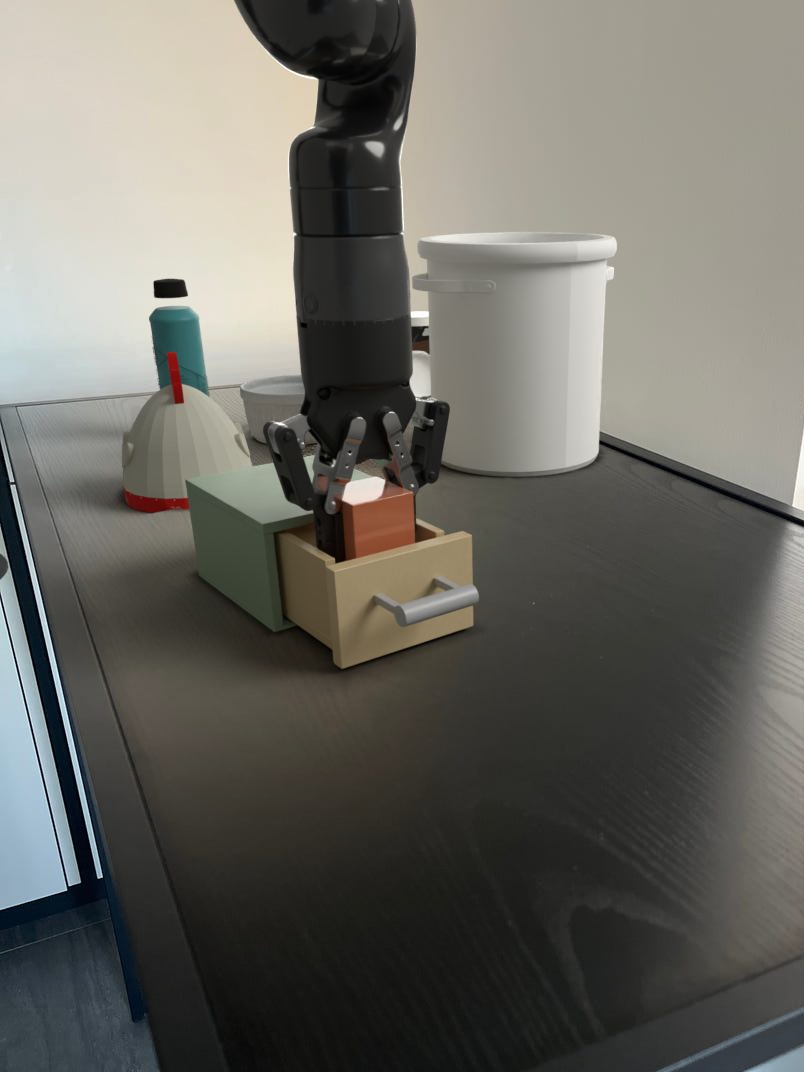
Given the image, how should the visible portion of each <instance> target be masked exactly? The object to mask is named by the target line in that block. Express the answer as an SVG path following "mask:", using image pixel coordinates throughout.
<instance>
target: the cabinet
mask: <svg viewBox="0 0 804 1072" xmlns="http://www.w3.org/2000/svg"><path fill="white" fill-rule="evenodd" d="M314 456H315V454H311V455H307V456H303V458H304V461H305V464H306V467H307V470H308V473H309V477H310V480H311V483H312V481H313V477H314V471H313V468H312V465H313V461H314ZM333 463H334V465H335V463H336V460H335V459H333ZM252 466H253V467H248V468H243V469H237V470H232V471H227V472H221V473H216V474H211V475H205V476H200V477H195V478H189V479H185V483H186V488H187V496H188V503H189V509H188V510H189V516H190V523H191V529H192V536H193V542H194V549H195V556H196V562H197V564H196V565H197V570H198V576H199V577H200V578H201V579H203V580H204V581H206V582H207V583H208V584H209V585H211V586H212V587H213V588H215V589H217V590H218V591H219V592H220V593H222V594H223V595H224V596H226V597H227V598H228V599H230V600H231V601H232V602H234V603H235V604H236V605H237V606H239V607H240V608H242V609H243V610H244V611H245V612H247V613H248V614H249V615H251V616H252V617H254V618H255V619H256V620H257V621H259V622H260V623H262V624H263V625H265V626H266V627H267V628H269V630H271V631H272V632H274V633H276V632H280V631H283V630H287V629H291V628H293V627H297V626H298V625H297V624H296V623H294V622H293V621H291V620H290V619H289V618H287V617H286V616H284V615H283V614H282V608H281V599H280V590H279V581H278V572H277V563H276V553H275V544H274V535H273V532H277V531H281V530H286V529H290V528H294V527H299V526H303V525H307V524H312V523H315V522H314V513H313V510H311V511H306V510H304V509H302V508H300V507H299V506H297V505H295V504H292V503H290V502H288V501H287V500H286V498H285V495H284V493H283V490H282V487H281V484H280V481H279V478H278V475H277V472H276V469H275V466H274V463H273V462H270V463H264V464H260V465H252ZM371 477H374V476H373V475H370V474H368V473H366V472H363V471H361V470H358V469H356V468H354V470H353V475H352V478H351V481H350V482H352V481H356V480H361V479H366V478H371Z"/></svg>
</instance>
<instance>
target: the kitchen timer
mask: <svg viewBox="0 0 804 1072" xmlns="http://www.w3.org/2000/svg"><path fill="white" fill-rule="evenodd" d="M167 359H168V367H169V374H170V380H171V385H169V386H166V387H164V388H162V389H161V390H160V389H158V391H156V392H155V393H154V394H153V395H152V396H150V397H149V399H147V400H146V402H145V403H144V404H143V406H142V407H141V409H140V410H139V412H138V414H137V416H136V417H135V420H134V421H133V423H132V426H131V429H130V431H127V430H125V431H123V432H122V433H123V434H122V443H121V467H122V468H121V469H122V487H123V492H124V498H125V502H126V504H127V505H128V507H130V508H132V509H134V510H137V511H139V512H140V511H141V512H145V513H148V514H149V513H151V514H156V513H161V512H165V511H170V510H190V509H189V503H188V496H187V488H186V483H185V479H189V478H195V477H200V476H205V475H211V474H216V473H221V472H227V471H232V470H237V469H243V468H248V467H253V466H254V465H253V462H252V460H251V453H250V449H249V447H248V442H247V440H246V436H245V434H244V431H243V428H242V426H241V424H240V423H239V422H238V421H235V422H233V421H232V420H231V418H230V417H229V415H228V414H227V413H226V412H225V411H224V410H223V408H222V407H221V406H220V405H219V404H218V403H217V402H216V401H215V400H214V399H212V398H211V396H210V397H208V396H207V395H206V394H204V393H203V392H201V391H199V390H197V389H195V388H193V387H191V386H188V385H184V384H182V383H181V378H180V371H179V367H178V360H177V355H176V352H169V353H167Z"/></svg>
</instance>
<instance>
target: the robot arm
mask: <svg viewBox="0 0 804 1072" xmlns="http://www.w3.org/2000/svg"><path fill="white" fill-rule="evenodd" d="M233 3H234V4H235V6H236V8H237V10H238V12H239V14H240V17H241V18H242V20H243V22H244V23H245V25H246V27H247V28H248V30H249V31H250V33H251V34H252V35H253V37H254V39H255V40H256V41H257V42H258V43H259V45H260V46H261V47H262V48H263V49H264V50H265V51H266V52H267V54H268V55H269V56H271V58H272V59H273V60H275V61H276V63H277V64H279V65H280V66H282V67H283V68H285V69H286V70H287V71H289V72H291V73H293V74H295V75H297V76H300V77H304V78H306V79H312V80H317V90H316V102H315V113H314V120H313V124H312V126H311V127H310V128H308V129H306V130H304V131H302V132H301V133H298V134H297V135H296V136H295V137H294V138H293V139H292V141H291V143H290V145H289V150H288V155H287V156H288V157H287V174H288V185H289V197H290V209H291V221H292V223H291V224H292V233H293V236H292V237H293V252H292V253H293V255H292V283H293V295H294V305H295V306H294V307H295V317H296V329H297V342H298V350H299V352H298V353H299V365H300V375H301V376H302V381H303V385H304V390H305V396H304V401H303V404H302V406H301V409H300V414H299V415H297V416H294V417H292V418H290V419H287V420H285V421H283V422H280V423H277V422H274V421H269V422H267V423H266V424H265V425H264V427H263V434H264V437H265V440H266V443H267V444H266V443H265V444H266V446H267V448H268V452H269V454H270V457H271V461H272V463H274V466H275V469H276V472H277V475H278V478H279V481H280V484H281V487H282V490H283V493H284V495H285V498H286V500H287V501H288V502H290V503H292V504H295V505H297V506H299V507H300V508H302V509H304V510H306V511H311V510H313V513H314V522H315V532H316V533H315V534H316V546H317V548H318V549H319V550H321V551H322V552H324V553H326V554H328V555H329V556H331V557H333V558H335V563H340V562H344V561H345V560H346V553H345V539H344V525H343V513H341V512H339V509H340V507H341V503H342V498H343V494H344V490H345V486H346V484H347V483H349V482H350V481H351V478H352V475H353V470H354V469H355V466H356V465H360V464H363V463H364V462H366V461H368V460H374V461H375V463H376V464H377V465H378V466H379V468H380V469H381V472H382V474H383V477H384V480H386V481H388V482H391V483H393V484H395V485H398V486H400V487H402V488H405V489H407V490H409V491H412V492H413V503H414V529H415V533H416V529H417V523H416V518H417V503H416V502H417V499H416V498H417V494H418V492H419V490H420V489H421V488H423V487H425V486H426V485H427V484H431V485H433V484H434V483H435V484H436V482H437V481H438V479H439V477H440V472H441V471H440V470H441V465H442V464H441V460H442V454H443V448H444V442H445V436H446V430H447V425H448V419H449V413H450V406H449V404H448V403H447V402H444V401H441V400H438V399H434V398H431V396H428V397H427V396H423V397H421V398H415V395H414V393H413V392H412V389H411V387H410V378H411V376H412V374H413V359H412V332H411V312H412V310H411V308H412V307H411V306H412V305H411V282H410V281H411V279H410V268H409V267H410V266H409V261H408V260H409V259H408V254H407V249H406V241H405V234H404V233H403V232H405V223H404V222H405V221H404V197H403V192H404V191H403V178H402V177H403V176H402V168H401V160H402V159H401V158H402V153H403V146H404V141H405V137H406V133H407V128H408V122H409V116H410V108H411V101H412V93H413V87H414V80H415V73H416V64H417V63H416V62H417V51H418V50H417V49H418V48H417V46H418V43H417V42H418V41H417V23H416V22H417V21H416V15H415V10H414V5H413V1H412V0H233ZM410 421H412V422H411V423H412V425H413V430H412V437H411V442H410V449H409V447H408V445H407V442H406V439H405V437H404V433H405V431H406V430H407V427H408V425H409V423H410ZM307 431H309V433H310V434H311V435H312V436H313V437H314V439H315V440H316V441H317V442H318V443H316V448H315V452H314V455H315V456H314V461H313V465H312V468H313V471H314V477H313V481H312V483H311V480H310V477H309V473H308V470H307V467H306V464H305V461H304V458H303V457H304V455H303V452H302V451H304V450H305V449H306V447H307V445H306V444H305V435H306V433H307ZM333 460H335V461H336V463H335V465H334V463H333Z"/></svg>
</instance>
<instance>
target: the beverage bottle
mask: <svg viewBox="0 0 804 1072" xmlns="http://www.w3.org/2000/svg"><path fill="white" fill-rule="evenodd" d="M152 284H153V286H152V287H153V298H154V299H181V298H186V297H188V296H189V293H188V292H189V291H188V289H187V285H186V281H185V279H182V278H160V279H156V280H153V283H152ZM148 322H149V324H150V331H151V339H150V340H151V342H152V345H153V346H152V353H153V359H154V364H155V366H156V370H155V371H156V372H155V374H157V386H158V388H159V390H161V389H162V388H164V387H166V386H169V385H171V380H170V374H169V367H168V359H167V353H169V352H176V355H177V360H178V367H179V371H180V378H181V383H182V384H184V385H188V386H191V387H193V388H195V389H197V390H199V391H201V392H203V393H204V394H206V395H207V396H208V397H210V398H211V395H210V394H211V393H210V389H209V387H210V386H209V381H208V380H209V379H208V376H207V370H206V364H205V362H206V361H205V355H204V347H203V339H202V331H201V324H200V323H201V322H200V315H199V314H198V313H197V312H196V311H195V310H194V309H193V308H191V307H190V306H188V305H166V306H158V307H156V308H154V309H153V311H152V312H151V314H150V315H149V316H148Z"/></svg>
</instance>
